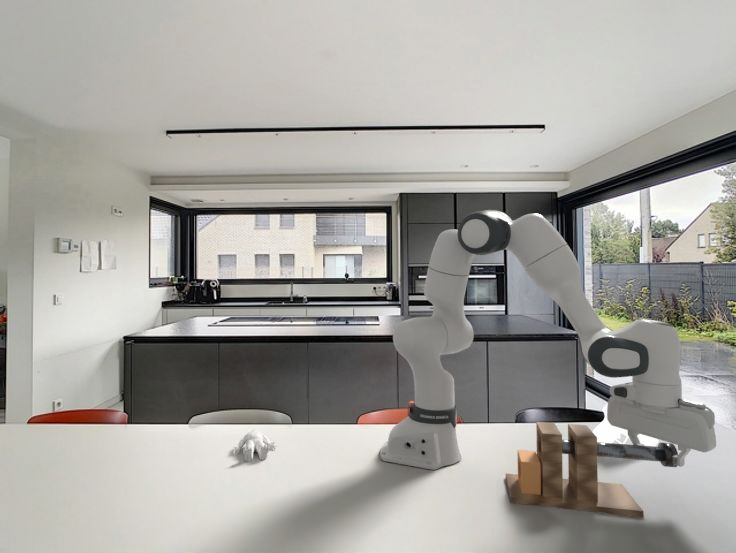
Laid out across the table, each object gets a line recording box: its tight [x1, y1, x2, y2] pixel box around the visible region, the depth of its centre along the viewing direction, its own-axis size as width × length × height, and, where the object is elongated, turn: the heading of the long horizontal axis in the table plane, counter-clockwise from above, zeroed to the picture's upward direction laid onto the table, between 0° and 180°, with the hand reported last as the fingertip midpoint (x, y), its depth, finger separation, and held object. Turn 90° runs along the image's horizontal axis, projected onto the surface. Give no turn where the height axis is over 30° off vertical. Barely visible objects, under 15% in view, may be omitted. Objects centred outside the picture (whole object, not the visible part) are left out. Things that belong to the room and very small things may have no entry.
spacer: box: [517, 449, 541, 495], centre depth 97 cm, size 4×7×7 cm, turn 167°
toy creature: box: [232, 429, 277, 463], centre depth 120 cm, size 12×6×12 cm
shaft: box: [562, 439, 679, 468], centre depth 93 cm, size 26×5×5 cm, turn 77°
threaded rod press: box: [505, 421, 645, 518], centre depth 95 cm, size 26×12×15 cm, turn 77°
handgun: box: [591, 403, 660, 447], centre depth 120 cm, size 18×3×14 cm
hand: (657, 458), depth 91 cm, fingers closed on shaft, 6 cm apart
